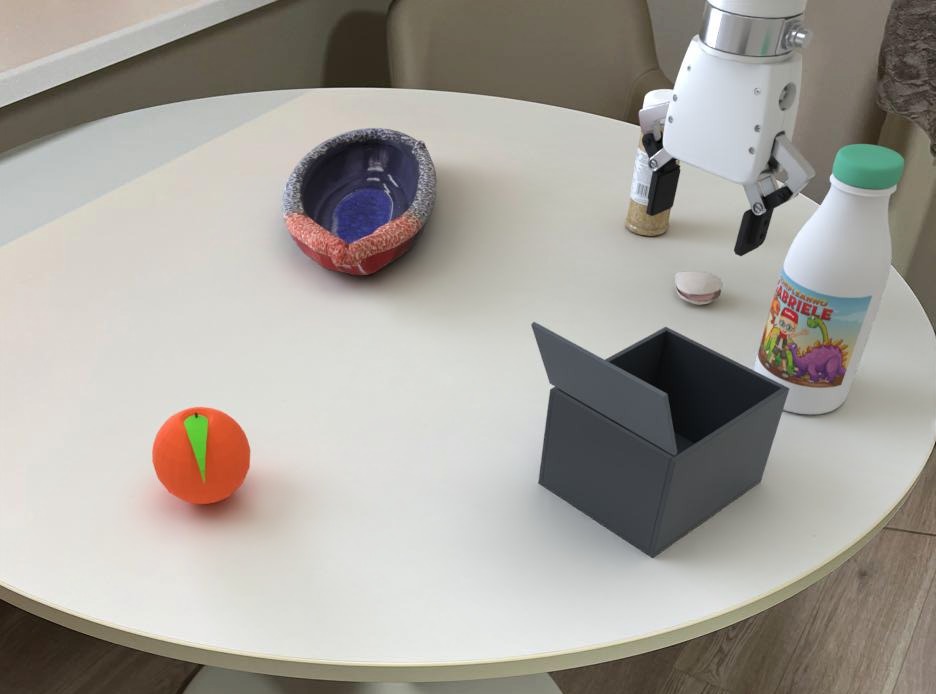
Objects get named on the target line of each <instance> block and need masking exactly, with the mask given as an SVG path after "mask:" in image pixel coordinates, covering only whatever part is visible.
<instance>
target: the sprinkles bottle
mask: <svg viewBox="0 0 936 694" xmlns="http://www.w3.org/2000/svg"><path fill="white" fill-rule="evenodd" d="M672 93H673V89H667V88H662V89H654V90H651V91H649V92H647V93H645V95H644V100H643V104H642V109H644V108H647V107H650V106H653V105H657V104H661V103H665V102H669V101H670V100H671V97H672ZM665 121H666V118H665V119H661V120H660V130H661V131H662V133H663V132H664V126H665ZM642 137H643V133H642V132H641V131H640V135H639V141H638V144H637V148H636V149H637V150H636V155H635V162H634V168H633V174H632V180H631V186H630V193H629V195H630V196H629V203H628V209H627V215H626V218H625V221H624V225H625V227H626V228H627V230H629V231H630V232H632V233H634V234H636V235H640V236H649V237H654V236H659V235H663V234H664V233H666V232H667V231H668V229H669V227H670V216H671V210H672V208H670V209H668V210H666V211H663V212H661V213H659V214H657V215H654V216H650V215H648V214H647V213H646V211H647V205H648V193H649V188H650V182H651V177H652V172H653V171H651V170H650V169H649V167H648V161H649V157H648V155H647V153H646V151H645V148H644V146H643V144H642ZM680 162H681V161H680V160H678V161H677V162H676V164H677V165H680Z"/></svg>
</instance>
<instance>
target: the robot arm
mask: <svg viewBox="0 0 936 694" xmlns="http://www.w3.org/2000/svg"><path fill="white" fill-rule="evenodd" d="M807 3H808V0H705V3H704V8H703V13H702V17H701V23H700V28H699V32H698V34H696V35H694V36H693V37H692V38H691V41H690V43H689V45H688V47H687V50H686V52H685V54H684V57H683V60H682V61H681V65H680V68H679V71H678V74H677V76H676V80H675V83H674V86H673V89H672V90H673V93H672V97H671V100H670V101H669V102H665V103H661V104H657V105H653V106H650V107H647V108H644V109H643V108H642V109H640V110H639V111H638V116H637V117H638V122H639V125H640V133H641V132H642V133H643V137H642V144H643V146H644V148H645V151H646V153H647V155H648V157H649V161H648V167H649V169H650V170H651V171H653V172H652V177H651V182H650V188H649V193H648V205H647V211H646V213H647V214H648V215H650V216H654V215H657V214H659V213H661V212H663V211H666V210H668V209H670V208H671V209H672V208H673V206H674V204H675V199H676V194H677V189H678V185H679V180H680V175H681V165H680V164H679V165H677V164H676V162H677V161H678V160H680V162H682V163H684V164H687V165H689V166H691V167H694V168H696V169H699V170H701V171H703V172H706V173H708V174H711V175H714V176H716V177H718V178H721V179H723V180H726V181H728V182H731V183H733V184H737V185H739V186H742V187H743V189H744V190H743V191H744V192H745V193H744V194H745V195H746V198H747V200H748V203H749V206H750V209H747V210H746V211H744V212H743V214H742V218H741V222H740V225H739V229H738V232H737V236H736V241H735V243H734V244H735V245H734V248H733V252H734V254H735V255H736V256H739V257H743V256H745V255H747V254H748V253H750V252H752V251H754V250H757V249H758V248H759V247H760V246H762V245H763V244H764V243H765V240H766V238H767V234H768V231H769V229H770V228H769V227H770V224H771V220H772V217H773V214H774V210H775V209H776V208H778V207H780V206H781V205H784V204H785V203H787V202H789V201H791V200H792V199H795V198H796V197H798V195H799V194H800V192H801V191H802V190H804V188H805V187H807V185H808V184H809V183H810V182H811V181H812V180H813V179H814V178H815V176H816V170H815V168H814V167H813V166H812V165H811V164H810V162H809V161H808V160H807V159H806V158H805V157H804V155H803V154H802V153H801V152H800V151H799V149H798V148H797V147H796V146H795V145H794V144H793V142H792V140H793V135H794V132H795V126H796V121H797V116H798V110H799V104H800V96H801V90H802V89H801V88H802V77H803V55H802V54H801V53H799V52H796V51H795V50H796V49H798V48H799V49H802V50H806V49H807V48H808V47H809V46H810V45H811V43H812V41H813V38H814V32H813V30H811V29H808V28H806V26H805V25H804V22H805V18H806V13H805V11H806V6H807ZM665 118H666V121H665V126H664V132H663V133H662V131H661V130H660V120H661V119H665ZM783 170H784V171H785V172H786V174H787V179H786V181H784V183H783V184H782V185H781V187H779V184H778V181H777V178H776V174H779V173H781V172H782V171H783Z"/></svg>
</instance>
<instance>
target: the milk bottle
mask: <svg viewBox="0 0 936 694" xmlns="http://www.w3.org/2000/svg"><path fill="white" fill-rule="evenodd" d="M904 168H905V159H904V157H903V156H902V155H901V154H900V153H899V152H897V151H895V150H894V149H892V148H891V149H890V148H888V147H885V146H881V145H877V144H871V143H870V144H869V143H857V144H856V143H853V144H847V145H845V146H843V147H841V148H840V149H839V150H838V152H837V153H836V154H835V159H834V160H833V166H832V173H831V174H830V176H829V182H830V183H831V184H830V188H829V190H828V192H827V193H826V195H825V197H824V199H823V201H822V202H821V204H820V205H819V206H818V208H817V209H816V210H815V212H814V213H813V214H812V216H810V218H809V219H808V220H807V222H805V223H804V225H803V226H802V227H801V228H800V230H799V231H798V233H797V234H796V236H795V237H794V238H793V241H792V243H791V245H790V246H789V249H788V251H787V254H786V255H785V258H784V262H783V265H782V268H781V271H780V273H779V278H778V281H777V284H776V287H775V290H774V291H775V292H774V293H773V298H772V301H771V305H770V309H769V312H768V316H767V319H766V323H765V327H764V329H763V333H762V336H761V337H762V338H761V340H760V345H759V348H758V350H757V351H758V352H757V355H756V358H755V363H754V367H753V370H754V371H756V372H758V373H760V374H762V375H764V376H766V377H768V378H770V379H772V380H774V381H776V382H778V383H780V384H782V385H784V386H786V387H788V388H789V392H788V395H787V398H786V402H785V405H784V408H783V411H786V412H790V413H793V414H800V415H821V414H827V413H830V412H833V411H835V410H836V409H838V408H839V407H840V406H841V405H842V404H843V403H845V401H846V399H847V398H848V396H849V393H850V390H851V388H852V384H853V382H854V379H855V376H856V374H857V372H858V368H859V366H860V362H861V360H862V357H863V354H864V352H865V349H866V345H867V343H868V340H869V338H870V335H871V332H872V328H873V325H874V322H875V320H876V316H877V314H878V311H879V308H880V305H881V302H882V299H883V296H884V293H885V290H886V287H887V284H888V279H889V276H890V271H891V267H892V255H893V254H892V253H893V252H892V250H893V249H892V239H891V234H890V227H889V225H890V224H889V204H890V198H891V195H892V194H894V193H895V192H896V191H897V188H898V186H897V185H898V184H899V182H900V179H901V177H902V174H903V171H904Z"/></svg>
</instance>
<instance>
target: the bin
mask: <svg viewBox="0 0 936 694" xmlns="http://www.w3.org/2000/svg"><path fill="white" fill-rule="evenodd" d="M604 360H606V361H608V362H609V363H611V364H613V365H615V366H617V367H619V368H621V369H622V370H624V371H626V372H628V373H630V374H632V375H633V376H635V377H637V378H639V379H641V380H643V381H645V382H646V383H648V384H650V385H652V386H654V387H656V388H657V389H659V390H661V391H663V392H665V393H667V394H668V400H669V406H670V412H671V418H672V424H673V430H674V436H675V441H676V447H677V454H676V455H675V456H674V455H672V454H671V453H669V452H667V451H665V450H664V449H662V448H660V447H658V446H657V445H655V444H653V443H652V442H650V441H648V440H646V439H645V438H643V437H641V436H640V435H638V434H636V433H634V432H633V431H631V430H629V429H627V428H626V427H624V426H622V425H621V424H619V423H617V422H615V421H614V420H612V419H610V418H608V417H607V416H605V415H603V414H602V413H600V412H598V411H596V410H595V409H593V408H591V407H590V406H588V405H586V404H584V403H583V402H581V401H579V400H577V399H576V398H574V397H572V396H571V395H569V394H567V393H565V392H564V391H562V390H560V389H558V388H557V387H555V386H553V387H552V388H550V389H549V394H548V403H547V410H546V418H545V427H544V434H543V444H542V450H541V456H540V457H541V459H540V464H539V465H540V467H539V474H538V482H537V483H538V484H539V485H541V486H542V487H544V488H545V489H547V490H548V491H550V492H551V493H553V494H554V495H556V496H557V497H559V498H560V499H562V500H563V501H565V502H566V503H568V504H570V505H571V506H573V507H574V508H576V510H579V511H580V512H581V513H583V514H584V515H586V516H587V517H589V518H591V519H592V520H594V521H596V522H597V523H598V524H600V525H601V526H603V527H605V528H606V529H608V530H609V531H611V532H612V533H614V534H616V535H617V536H618V537H620V538H621V539H623V540H625V541H626V542H627V543H629V544H630V545H632V546H633V547H635V548H637V549H638V550H640V551H641V552H642V553H644V554H645V555H647V556H649V557H650V558H652V559H654V558H655V557H657V555H659V554H661V553H662V552H663V551H666V549H668V548H669V547H670V546H672V545H673V544H675V543H677V542H678V541H679V540H681V539H682V538H683V537H685V536H686V535H687V534H689V533H691V532H692V531H693V530H695V529H697V527H699V526H700V525H702V524H703V523H704V522H706V521H707V520H708V519H711V517H713V516H715V515H716V514H717V513H719V512H720V511H722V510H723V509H724V508H726V507H727V506H729V505H730V504H731V503H733V502H734V501H735V500H737V499H739V497H741V496H742V495H744V494H746V493H747V492H748V491H750V490H751V489H753V488H754V487H755V486H757V485H758V484H760V483H761V482H762V478H763V475H764V472H765V470H766V466H767V462H768V459H769V456H770V453H771V450H772V446H773V443H774V440H775V437H776V434H777V430H778V427H779V424H780V420H781V418H782V414H783V411H784V410H783V408H784V405H785V402H786V398H787V395H788V392H789V388H788V387H786V386H784V385H782V384H780V383H778V382H776V381H774V380H772V379H770V378H768V377H766V376H764V375H762V374H760V373H758V372H756V371H754V369H752V368H750V367H748V366H747V365H744V364H743V363H740V362H737V361H735V360H733V359H732V358H729V357H728V356H726V355H723V354H722V353H720V352H718V351H716V350H714V349H711V348H710V347H707V346H706V345H703V344H702V343H700V342H697V341H696V340H693V339H692V338H690V337H688V336H685V335H683V334H682V333H680V332H677V331H676V330H674V329H672V328H670V327H667V326H664V327H662V328H660V329H659V330H657V331H655V332H653V333H652V334H649V335H648V336H646V337H644V338H641V339H640V340H638V341H636V342H635V343H633V344H631V345H629V346H628V347H625V348H623V349H622V350H620V351H618V352H616V353H614V354H612V355H611V356H609V357H607V358H605V359H604Z"/></svg>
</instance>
